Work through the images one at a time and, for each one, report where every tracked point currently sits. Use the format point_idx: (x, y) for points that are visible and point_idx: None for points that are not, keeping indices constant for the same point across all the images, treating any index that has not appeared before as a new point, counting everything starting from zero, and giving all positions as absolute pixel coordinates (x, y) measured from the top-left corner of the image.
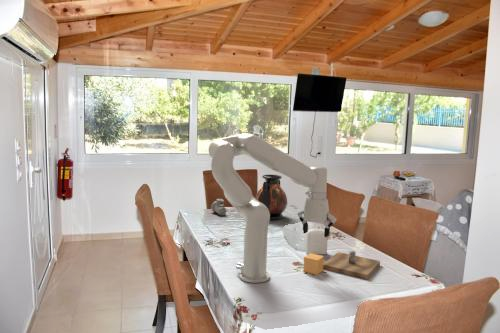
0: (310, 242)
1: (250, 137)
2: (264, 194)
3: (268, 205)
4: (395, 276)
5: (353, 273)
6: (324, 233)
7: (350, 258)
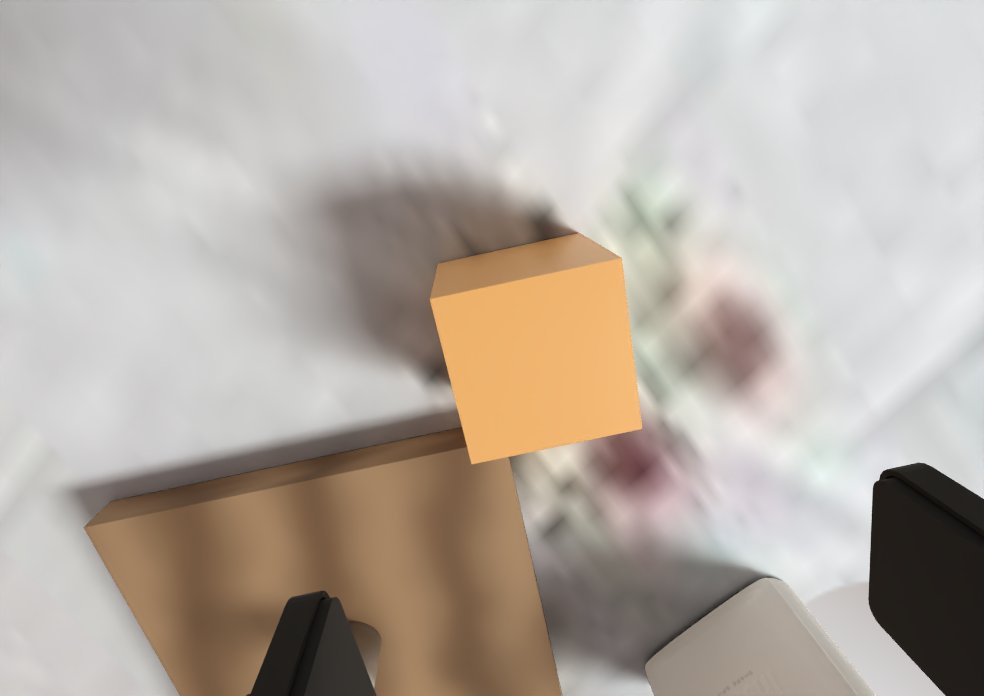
0: (813, 677)
1: None
2: None
3: None
4: (44, 687)
5: (213, 492)
6: (310, 675)
7: None
